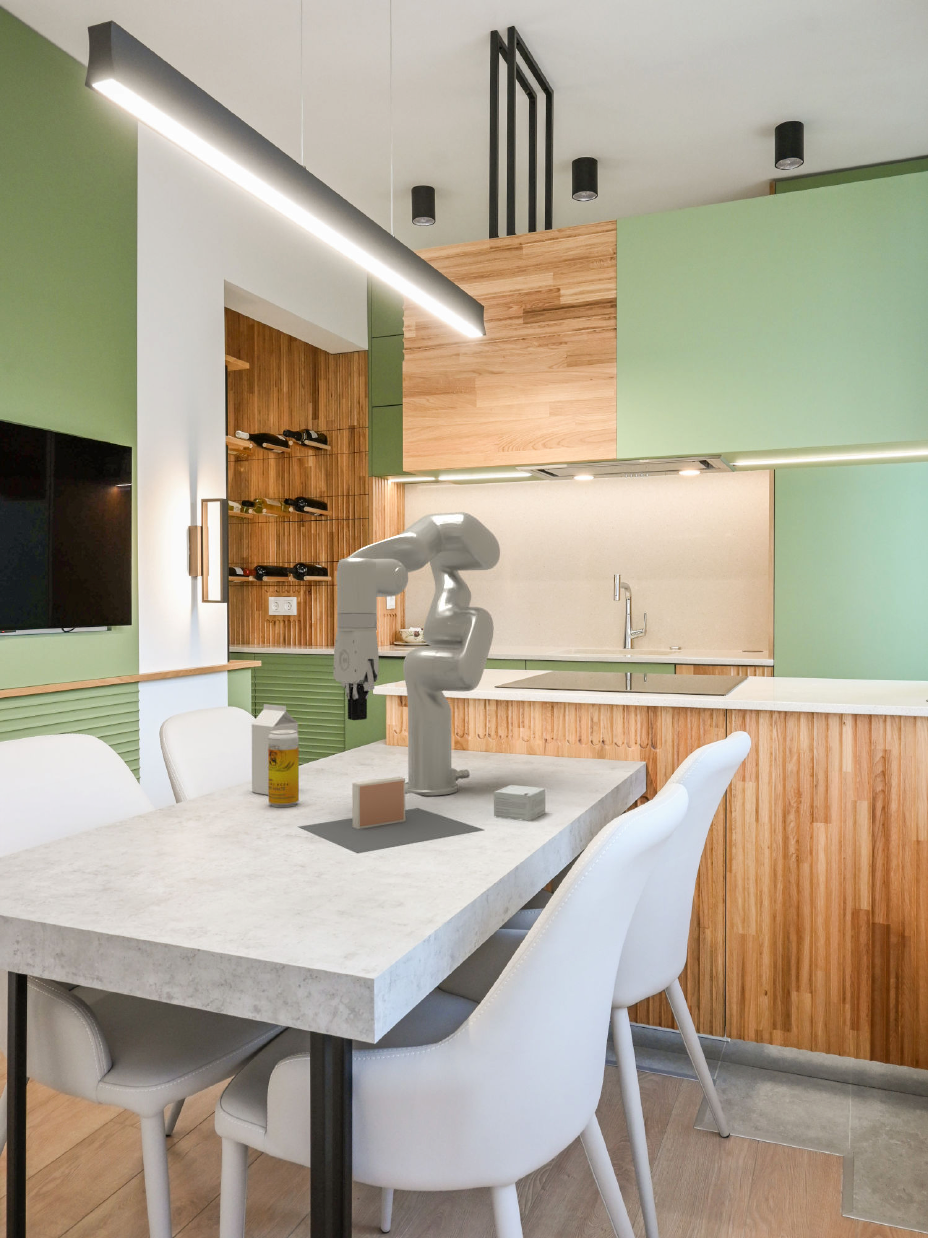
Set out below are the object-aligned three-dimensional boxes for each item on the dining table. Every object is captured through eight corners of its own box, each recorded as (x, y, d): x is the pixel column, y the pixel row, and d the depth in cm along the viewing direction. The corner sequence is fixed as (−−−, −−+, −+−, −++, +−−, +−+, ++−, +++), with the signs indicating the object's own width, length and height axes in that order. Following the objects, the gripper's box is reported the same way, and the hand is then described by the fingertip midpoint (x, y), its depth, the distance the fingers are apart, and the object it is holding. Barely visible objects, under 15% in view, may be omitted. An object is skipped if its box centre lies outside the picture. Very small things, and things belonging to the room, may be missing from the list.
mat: (417, 810, 181) (417, 807, 181) (485, 833, 163) (485, 829, 163) (297, 830, 165) (297, 826, 165) (357, 857, 147) (357, 853, 147)
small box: (510, 809, 182) (510, 784, 182) (546, 814, 179) (546, 788, 179) (492, 817, 175) (492, 791, 175) (530, 822, 172) (530, 795, 172)
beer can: (262, 806, 185) (261, 732, 185) (281, 800, 190) (281, 729, 190) (285, 809, 182) (285, 734, 182) (304, 803, 188) (304, 730, 187)
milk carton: (273, 796, 194) (273, 707, 194) (251, 792, 198) (251, 705, 198) (298, 791, 200) (298, 704, 200) (276, 787, 204) (276, 702, 204)
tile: (399, 819, 171) (399, 776, 171) (405, 821, 169) (405, 778, 169) (352, 826, 165) (352, 782, 165) (358, 829, 163) (358, 784, 163)
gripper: (321, 622, 177) (321, 717, 177) (359, 623, 165) (359, 725, 165) (355, 622, 181) (355, 714, 182) (394, 623, 169) (395, 722, 170)
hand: (357, 719), depth 173 cm, fingers closed
